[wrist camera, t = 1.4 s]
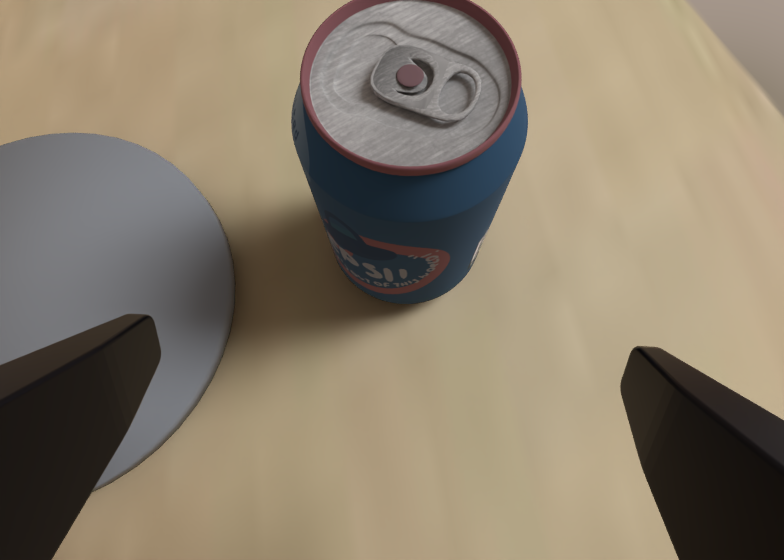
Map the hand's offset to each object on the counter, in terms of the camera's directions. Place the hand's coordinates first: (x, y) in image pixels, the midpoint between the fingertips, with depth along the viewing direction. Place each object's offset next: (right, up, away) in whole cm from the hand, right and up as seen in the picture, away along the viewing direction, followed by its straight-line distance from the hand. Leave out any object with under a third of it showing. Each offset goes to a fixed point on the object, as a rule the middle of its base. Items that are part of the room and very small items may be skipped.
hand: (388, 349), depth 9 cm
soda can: (+1, +3, +15) cm, 15 cm away
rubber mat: (-16, 0, +14) cm, 22 cm away
